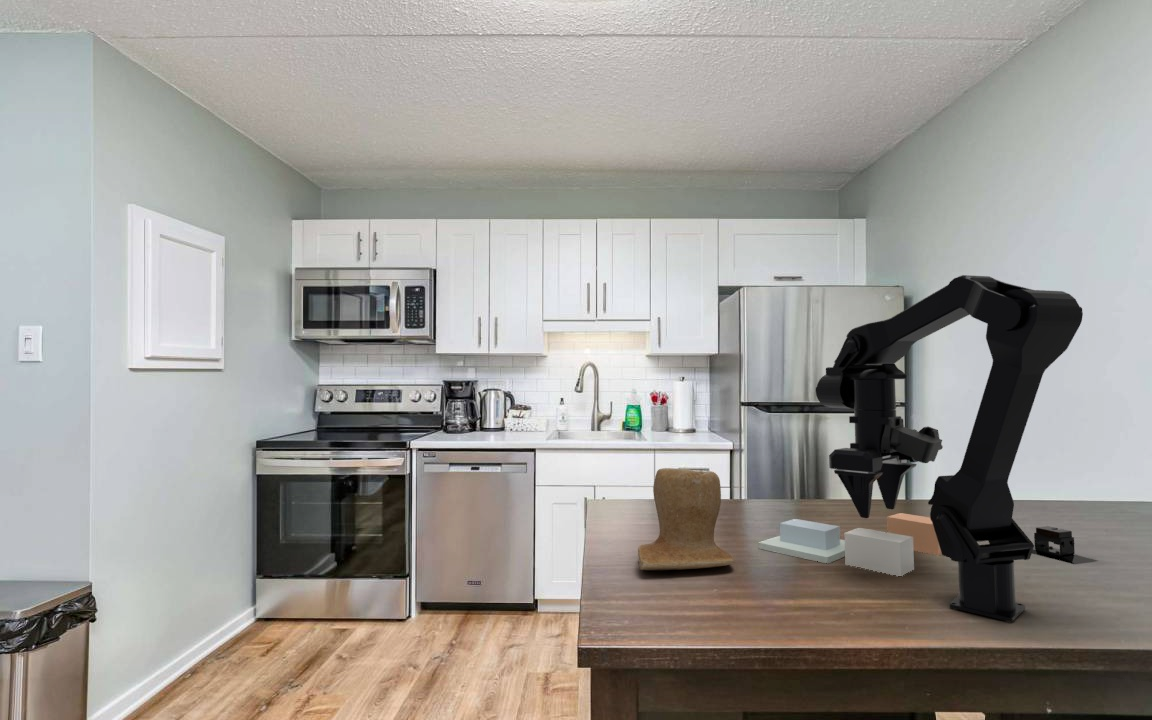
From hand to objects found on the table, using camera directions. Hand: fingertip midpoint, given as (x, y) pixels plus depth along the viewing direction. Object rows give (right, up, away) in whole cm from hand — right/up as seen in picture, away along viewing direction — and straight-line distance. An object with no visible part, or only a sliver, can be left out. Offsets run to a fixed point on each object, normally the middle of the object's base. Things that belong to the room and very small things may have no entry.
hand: (878, 513), depth 92 cm
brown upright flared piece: (-30, -9, +2) cm, 31 cm away
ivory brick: (0, -8, 0) cm, 8 cm away
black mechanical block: (+31, -9, +6) cm, 33 cm away
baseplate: (-6, -9, +10) cm, 15 cm away
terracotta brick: (+12, -9, +10) cm, 18 cm away
